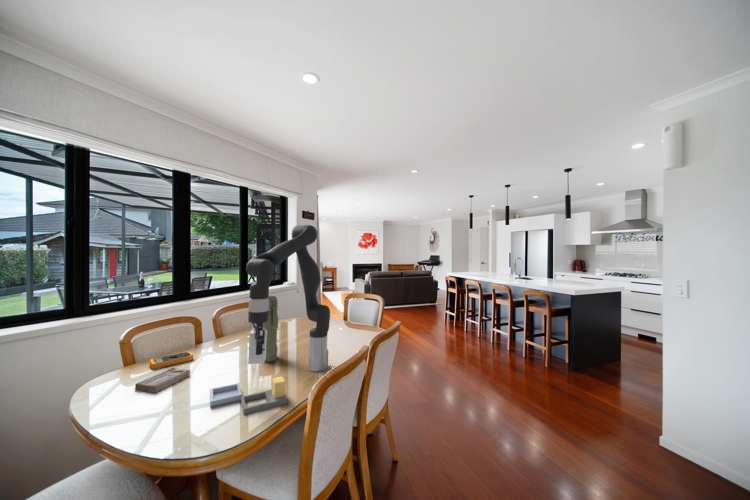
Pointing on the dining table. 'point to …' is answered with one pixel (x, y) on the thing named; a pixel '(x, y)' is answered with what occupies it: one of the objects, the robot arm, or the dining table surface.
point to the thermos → (271, 330)
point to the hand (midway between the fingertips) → (257, 351)
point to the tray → (225, 395)
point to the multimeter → (171, 360)
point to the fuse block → (267, 397)
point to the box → (162, 380)
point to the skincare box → (252, 350)
